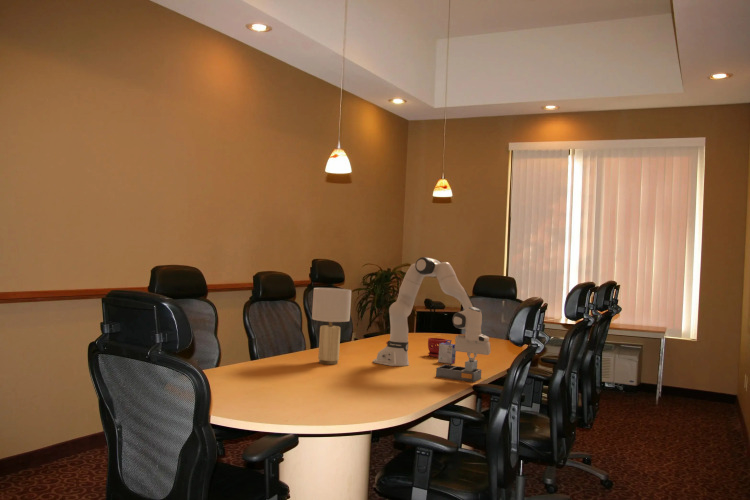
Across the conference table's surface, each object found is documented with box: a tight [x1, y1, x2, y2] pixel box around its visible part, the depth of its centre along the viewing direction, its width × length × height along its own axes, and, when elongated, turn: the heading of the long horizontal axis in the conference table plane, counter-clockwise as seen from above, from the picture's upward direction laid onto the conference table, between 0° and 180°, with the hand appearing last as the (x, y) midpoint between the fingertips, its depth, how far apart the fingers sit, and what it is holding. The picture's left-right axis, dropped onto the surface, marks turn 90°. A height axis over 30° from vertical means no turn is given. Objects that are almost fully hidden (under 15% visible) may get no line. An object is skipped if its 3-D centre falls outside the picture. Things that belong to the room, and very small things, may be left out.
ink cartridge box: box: [437, 339, 457, 365], centre depth 401 cm, size 10×6×14 cm, turn 56°
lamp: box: [311, 287, 352, 366], centre depth 375 cm, size 23×23×44 cm
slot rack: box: [435, 363, 482, 383], centre depth 354 cm, size 22×14×5 cm, turn 63°
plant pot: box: [427, 337, 449, 358], centre depth 424 cm, size 13×13×12 cm
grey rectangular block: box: [464, 359, 478, 373], centre depth 351 cm, size 4×10×9 cm, turn 153°
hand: (471, 361), depth 351 cm, fingers closed, pressing on grey rectangular block
